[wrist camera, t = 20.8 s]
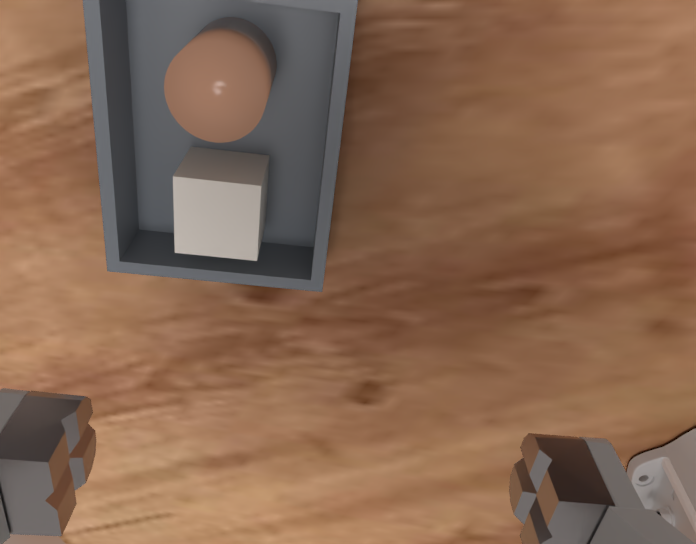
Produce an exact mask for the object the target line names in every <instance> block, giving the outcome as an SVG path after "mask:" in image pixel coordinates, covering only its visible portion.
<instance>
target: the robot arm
mask: <svg viewBox="0 0 696 544" xmlns="http://www.w3.org/2000/svg"><path fill="white" fill-rule="evenodd" d="M92 414H93V410H92V404H91V399H90V398H88V397H85V396H76V395H67V394H57V393H48V392H39V391H23V390H15V389H6V388H3V389H1V390H0V544H3V543H4V542H5V541H6V540H7V539H9V538H10V534H20V535H45V536H62V534H63V532H64V530H65V528H66V525H67V523H68V521H69V519H70V517H71V515H72V512H73V510H74V508H75V506H76V497H75V490H76V489H78V488H79V487H81V486H82V485H83V484H85V483H86V481H87V479H88V477H89V474H90V472H91V469H92V465H93V461H94V457H95V453H96V434H95V430H94V429H93V428H92V427H91V426H90V425H89V424H88V422H89V420H90V418H91V416H92ZM520 448H521V451H522V454H523V457H524V458H522V459H521V460H520V461H518V462H517V463H515V464H514V467H513V470H512V473H511V476H510V486H509V494H510V502H511V506H512V510H513V513H514V515H515V516H516V517H517V518H518V519H519V520H520V521H521V522H522V523H523V524H524V526H523V529H522V531H521V534H520V538H521V541H522V544H696V428H695V429H693V430H691V431H689V432H687V433H686V434H684V435H682V436H681V437H679V438H678V439H676V440H675V441H673V442H671V443H669V444H668V445H666V446H664V447H660V448H657V449H654V450H650V451H647V452H645V453H642V454H640V455H637V456H636V457H634V458H633V459H632V460H631V461H630V462H629V465H628V468H627V473H626V471H625V469H624V467H623V465H622V463H621V462H620V460H619V458H618V456H617V454H616V452H615V450H614V448H613V446H612V444H611V443H610V442H609V441H608V440H607V439H602V438H587V437H579V438H578V437H571V436H558V435H544V434H531V433H528V435H527V436H526V437H525V438H524V440H523V442H522V445H521V447H520Z"/></svg>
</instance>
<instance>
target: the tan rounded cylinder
mask: <svg viewBox="0 0 696 544" xmlns="http://www.w3.org/2000/svg"><path fill="white" fill-rule="evenodd" d="M276 68H277V61H276V54H275V51H274V48H273V45H272V43H271V42H270V40H269V38H268V37H267V36H266V34H265V33H264V32H263V31H262V30H261V29H260V28H259V27H257V26H256V25H254V24H253V23H251V22H249V21H247V20H244V19H241V18H236V17H225V18H220V19H217V20H214V21H212V22H211V23H209V24H208V25H206V26H205V27H204V28H203V29H202V30H201V31H200V32H199V33H198V34H197V35H196V36H195V37H194V38H193V39H192V40H191V41H190V42H189V43H188V44H187V45H186V46H185V47H184V48H183V49H182V50H181V51H180V52H179V53H178V54H177V55H176V56H175V57H174V58H173V60H172V61H171V63H170V65H169V67H168V69H167V72H166V75H165V80H164V93H165V98H166V102H167V105H168V108H169V110H170V112H171V114H172V115H173V117H174V118H175V120H176V121H177V122H178V123H179V124H180V125H181V126H182V127H183V128H184V129H185V130H186V131H188V132H189V133H190V134H192V135H194V136H195V137H197V138H200V139H202V140H205V141H209V142H215V143H225V142H231V141H235V140H238V139H240V138H242V137H244V136H246V135H247V134H249V133H250V132H251V131H252V130H253V129H254V128H255V127H256V126H257V124H258V123H259V121H260V119H261V118H262V115H263V113H264V110H265V107H266V103H267V100H268V97H269V94H270V91H271V88H272V85H273V81H274V78H275V75H276Z"/></svg>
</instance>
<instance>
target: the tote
mask: <svg viewBox="0 0 696 544" xmlns="http://www.w3.org/2000/svg"><path fill="white" fill-rule="evenodd" d="M357 4H358V0H83V8H84V19H85V30H86V41H87V52H88V63H89V74H90V85H91V96H92V107H93V118H94V129H95V140H96V151H97V162H98V173H99V184H100V195H101V206H102V217H103V228H104V239H105V250H106V261H107V271H110V272H121V273H131V274H141V275H152V276H162V277H172V278H183V279H193V280H204V281H214V282H224V283H235V284H245V285H256V286H266V287H276V288H287V289H297V290H307V291H318V292H322V289H323V281H324V273H325V264H326V256H327V248H328V240H329V232H330V224H331V216H332V207H333V199H334V191H335V183H336V175H337V167H338V159H339V150H340V142H341V134H342V126H343V118H344V110H345V102H346V93H347V85H348V77H349V69H350V61H351V53H352V45H353V36H354V28H355V20H356V12H357ZM225 17H236V18H241V19H244V20H247V21H249V22H251V23H253V24H254V25H256V26H257V27H259V28H260V29H261V30H262V31H263V32H264V33H265V34H266V36H267V37H268V38H269V40H270V42H271V43H272V45H273V48H274V51H275V54H276V61H277V68H276V75H275V78H274V81H273V85H272V88H271V91H270V94H269V97H268V100H267V103H266V107H265V110H264V113H263V115H262V118H261V119H260V121H259V123H258V124H257V126H256V127H255V128H254V129H253V130H252V131H251V132H250V133H249V134H247V135H246V136H244V137H242V138H240V139H238V140H235V141H231V142H225V143H215V142H209V141H205V140H202V139H200V138H197V137H195V136H194V135H192V134H190V133H189V132H188V131H186V130H185V129H184V128H183V127H182V126H181V125H180V124H179V123H178V122H177V121H176V120H175V118H174V117H173V115H172V114H171V112H170V110H169V108H168V105H167V102H166V98H165V93H164V80H165V75H166V72H167V69H168V67H169V65H170V63H171V61H172V60H173V58H174V57H175V56H176V55H177V54H178V53H179V52H180V51H181V50H182V49H183V48H184V47H185V46H186V45H187V44H188V43H189V42H190V41H191V40H192V39H193V38H194V37H195V36H196V35H197V34H198V33H199V32H200V31H201V30H202V29H203V28H204V27H205V26H206V25H208V24H209V23H211V22H212V21H214V20H217V19H220V18H225ZM190 147H199V148H208V149H217V150H226V151H235V152H243V153H252V154H261V155H269V172H268V188H267V204H266V221H265V228H264V232H263V237H262V241H261V246H260V250H259V255H258V259H257V261H252V260H242V259H232V258H222V257H212V256H202V255H192V254H182V253H175V245H174V204H173V175H174V174H175V172H176V170H177V169H178V167H179V165H180V164H181V162H182V160H183V159H184V157H185V156H186V154H187V152H188V151H189V149H190Z"/></svg>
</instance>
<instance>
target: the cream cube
mask: <svg viewBox="0 0 696 544" xmlns="http://www.w3.org/2000/svg"><path fill="white" fill-rule="evenodd" d="M268 172H269V155H261V154H252V153H243V152H235V151H226V150H217V149H208V148H199V147H190V149H189V151H188V152H187V154H186V156H185V157H184V159H183V160H182V162H181V164H180V165H179V167H178V169H177V170H176V172H175V174H174V175H173V204H174V245H175V253H182V254H192V255H202V256H212V257H222V258H232V259H242V260H252V261H257V259H258V255H259V250H260V246H261V241H262V237H263V232H264V228H265V221H266V204H267V188H268Z"/></svg>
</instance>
